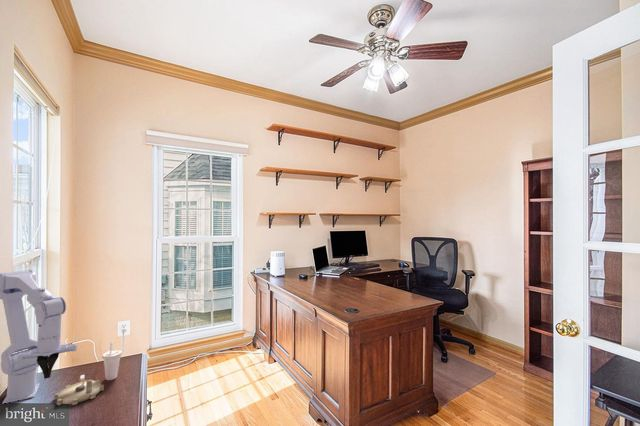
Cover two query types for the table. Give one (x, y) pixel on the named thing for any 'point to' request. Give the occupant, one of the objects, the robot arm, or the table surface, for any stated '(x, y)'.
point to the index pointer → (82, 378)
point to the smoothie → (111, 363)
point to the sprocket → (79, 392)
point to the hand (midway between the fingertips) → (47, 376)
